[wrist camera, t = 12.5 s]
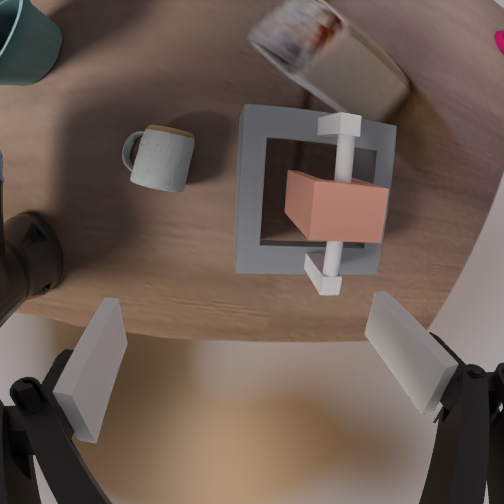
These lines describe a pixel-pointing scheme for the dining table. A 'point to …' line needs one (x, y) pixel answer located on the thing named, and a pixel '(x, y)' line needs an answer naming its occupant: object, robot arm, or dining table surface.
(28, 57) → the flower pot
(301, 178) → the coral u-channel block
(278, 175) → the dining table surface
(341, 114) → the gray square frame
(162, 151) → the ceramic mug
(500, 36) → the pepper mill
